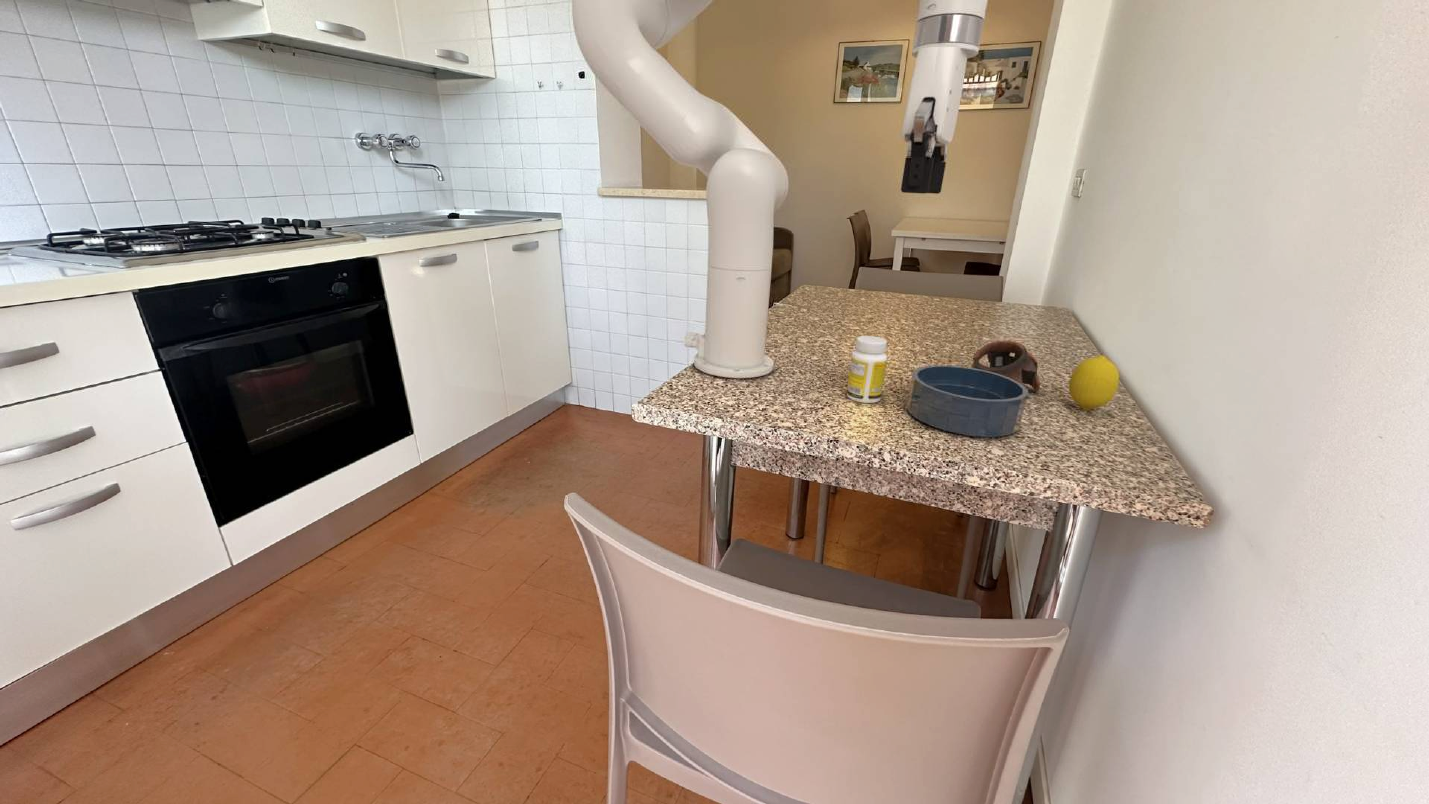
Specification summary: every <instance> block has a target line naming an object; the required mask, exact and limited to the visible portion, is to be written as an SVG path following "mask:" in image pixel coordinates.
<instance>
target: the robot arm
mask: <svg viewBox="0 0 1429 804" xmlns="http://www.w3.org/2000/svg"><path fill="white" fill-rule="evenodd" d="M713 1H714V0H572V3H571V6H572V7H571V11H572V12H571V14H572V15H571V17H572V25H573V30H574V35H575V38H576V42H577V45H578V48H579V50H580V52H581V54H582V57H583V59H584V61H585V62H586V64H587V66H588V67H589V68H590V71H591V72H592V73H593V75H594V76H595V78H596V79H597V80H598V82H599V83H600V84H601V85H602V86H603V87H604V89H606V91H607V92H608V93H609V94H611V96H612V97H613V98H614V99H615V100H616V101H617V102H618V104H620V105H621V106H622V107H623V108H624V109H625V110H626V111H627V112H628V113H629V115H630V116H631V117H632V118H633V119H634V120H635V121H636V122H637V123H638V125H640V126H641V127H642V129H644V130H645V131H646V132H647V133H648V134H649V136H651V137H652V138H653V139H654V141H656V143H658V144H657V145H659V146H660V147H661V148H662V150H664V151H665V153H667V155H668V156H669V157H670V158H671V159H672V160H674V161H675V162H676V163H678V164H681V165H683V166H685V167H690V168H697V169H698V170H699V171H700V172H701V173H703V174H704V176H706V177H707V182H706V188H705V189H706V190H705V192H706V193H705V197H706V198H705V201H706V203H705V204H706V214H707V215H706V216H707V237H708V238H707V239H708V240H707V271H706V273H707V275H706V296H705V297H706V300H705V323H704V325H705V326H704V333H703V334H699V333H697V332H691V331H687V332H686V333H685V335H684V341H683V345H684V347H687V348H695V349H696V350H697V354H695V355H694V357H693V365H694V367H695V368H696V369H697V370H698V371H700V372H702V373H705V374H708V375H711V376H714V377H715V376H716V377H720V378H727V379H751V378H758V377H763V376H766V375H769V374H771V373H772V372H773V370H774V367H775V361H774V360H773V358H771V357H770V356H769V355H767V354H766V343H767V330H768V329H767V327H768V318H769V317H768V316H769V306H770V305H769V304H770V293H771V282H772V281H771V280H772V269H773V256H774V254H773V253H774V219H775V218H774V216H775V213H776V212H777V210H779V209H780V208H781V207H782V206H783V204H784V202H785V201H786V198H787V196H788V192H789V185H790V183H789V176H788V172H787V170H786V168H785V166H784V164H783V163H782V161H781V160H780V159H779V157H777V156H776V155H775V154H774V153H773V152H772V151H771V149H769V148H768V147H767V145H765V143H763V142H762V140H760V139H759V138H758V137H757V135H755V134H754V132H753V131H751V130H750V129H749V128H748V127H747V125H746V124H745V123H743V121H742V120H740V119H739V118H738V116H736V115H735V114H734V112H732V111H731V110H730V109H729V108H728V107H726V106H725V105H723V104H722V103H721V102H718V101H716V100H714V99H712V98H710V97H708V96H706V95H704V94H702V93H701V92H699V91H698V90H697V89H695V88H694V87H693V86H692V85H691V84H690V83H688V82H687V80H686V79H685V78H684V77H683V76H681V75H680V74H679V73H678V71H676V69H674V67H673V66H672V65H671V64H670V63H669V61H667V60H666V59H665V57H664V56H662V55H661V54H660V53H659V52H658V51H657V50H658V49H661V48H662V47H664V46H666V44H668V43H669V42H670V41H672V40H673V38H675V37H676V36H677V35H678V34H679V33H680V32H681V31H682V30H683V29H684V28H685V27H687V26H688V25H689V24H690V23H691V22H693V20H694V19H695V18H696V17H698V16H699V15H700V14H701V13H702V12H703V11H704V10H705V9H707V8H708V7H709V5H711V4H712V3H713ZM988 1H989V0H919V4H918V11H917V19H916V26H915V31H914V40H913V45H912V51H911V56H912V57H913V58H915V63H914V67H913V71H912V75H911V79H910V85H909V90H908V96H907V101H906V106H905V111H904V117H903V121H902V122H903V123H902V128H901V139H902V140H903V141H904V142H905V143H908V146H907V148H906V149H907V150H906V157H905V159H904V166H903V173H902V179H901V186H900V192H901V193H904V194H905V193H907V194H923V195H924V194H937V195H938V194H940V193H941V192H942V188H943V181H944V176H945V171H946V165H947V162H946V160H947V153H948V145H949V144H950V143H952V141H953V138H954V135H955V130H956V126H957V120H958V116H959V111H960V104H961V99H962V94H963V87H964V81H965V74H966V68H967V62H968V59H971V58H975V57H976V56H978V54H979V50H980V44H981V39H982V33H983V28H984V23H985V17H986V12H987V7H988Z"/></svg>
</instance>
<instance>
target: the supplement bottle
mask: <svg viewBox="0 0 1429 804" xmlns="http://www.w3.org/2000/svg"><path fill="white" fill-rule="evenodd" d="M887 343H888V340H886V339H885V338H883V337H879V336H874V335H860V336H857V337H856V342H855V350H854V351H852V352H851V357H850V365H849V372H848V380H847V387H846V396H847V398H849V399H850V400H852V401H854V402H857V403H863V404H864V403H865V404H875V403H877V402H880V401H881V399H882V397H883V390H884V384H885V378H886V370H887V365H888V355H887V354H886V353H885V352H886V351H887Z"/></svg>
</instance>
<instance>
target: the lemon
mask: <svg viewBox="0 0 1429 804" xmlns="http://www.w3.org/2000/svg"><path fill="white" fill-rule="evenodd" d="M1119 384H1120V373H1119V369H1118V368H1117V366H1116V365H1115V363H1114V362H1112V361H1111V360H1110V359H1108V358H1107V357H1106V355H1103V354H1099V355H1097V356H1092V357H1088V358H1086V359H1084V360H1083V361H1081V362H1079V363H1078V365H1077V366H1076V367H1075V368H1074V370H1073V372H1072V373H1071V376H1070V378H1069V383H1068V391H1069V392H1068V393H1069V395H1070V398H1071V399H1072V401H1074V402H1075V403H1076V404H1078V405H1079V406H1080V408H1081V409H1082V410H1083V411H1086V412H1088V411H1090V410H1092V409H1097V408H1101V407H1103V406H1105V405H1107V404H1109V403H1110V402H1111V401H1112V400H1113V398H1114V397H1115V395H1116V393H1117V391H1118V388H1119Z"/></svg>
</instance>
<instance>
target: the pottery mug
mask: <svg viewBox="0 0 1429 804" xmlns="http://www.w3.org/2000/svg"><path fill="white" fill-rule="evenodd" d="M1011 354H1014V356H1013V355H1011ZM985 356H986V357H987V361H988V363H989V366H987V365H983V364H982V363H980V360H981V359H982V358H984V357H985ZM972 360H973V362H972V364H971V368H975V369H981V370H985V371H989V372H993V373H997V374H1000V375H1003V376H1005V377H1008V378H1011V379H1013V380H1015V381H1017V382H1019V383H1021V384H1022V385H1027V386H1030V387H1032V389H1033V390H1034V393H1035V395H1039V391H1040V387H1041V381H1040V377H1039V376H1038V368H1039V366H1038V365H1039V363H1038V361H1037V358H1036V357H1035V356H1034V355H1033V354H1032V353H1031V352H1029V351H1028V349H1027V348H1026V346H1025V345H1024V344H1022V343H1020V342H1017V341H1014V340H997V341H993V342H991V343H987V344H986V345H984V346H982V347H980V348H979V349H978V350H977V351H976V352H975V353H974V354H973V356H972Z"/></svg>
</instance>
